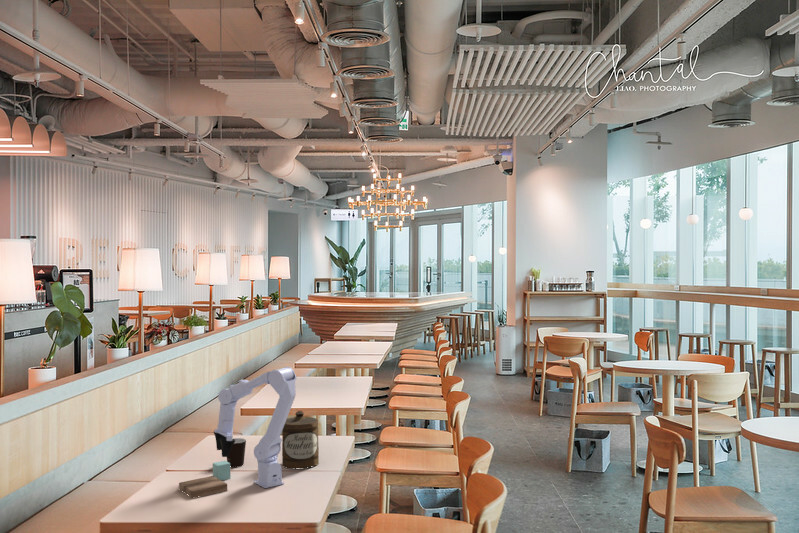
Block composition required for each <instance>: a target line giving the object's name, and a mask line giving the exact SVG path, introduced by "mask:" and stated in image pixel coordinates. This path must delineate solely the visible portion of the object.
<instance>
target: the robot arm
mask: <svg viewBox="0 0 799 533" xmlns="http://www.w3.org/2000/svg"><path fill="white" fill-rule="evenodd" d="M297 377H298V376H297V375H296V373H295V370H294V369H293V368H292V367H290V366H284V367H283V368H279V369H278V368H277V369H273V370H270V371H266V372H264V373H262V374H260V375H258V376H257V377H255V378H252V379H251V380H248V379H240V380H238V382H237V383H235V384H231V385H229V387H228V388H222V389H221V390H220V391H219V393H218V396H217V399H218V401H219V402H220V405H219V412H218V413H219V414H218V422H217V423H218V424H217V427H216V429H214V430H213V435H214V438H215V444H216V446H215V447H216V451H221V457H222V458H227V457H228V455H229V452H230V449H231V447H232V445H233V444H234V443H235V439H234V438H233V437H234V436H233V433H234V430H233V429H234V422H235V414H236V412H235V411H236V406H237V402H239V400H240V399H242V398H245V397H247V396H248V395H251V394H252V393H253V390H254V389H255V388H258V387H260V386H262V385H264V384H265V385H266V384H267V385H270V386H271V387H272V388H273V389H274V391H275V392H276V394H277V395H278V396H279V398H278V401H277V402H276V405H275V409H274V411H273V413H272V416H271V418H270V421H269V423H268V426H267V429H266V432H265V434H264V435H263V436H262V438H260V439H259V442H258V443H257V445H255V447H254V449H253V456H254V457H255V459H256V462H257V480H253V483H254V484H257V485H258V486H259V487H262V488H264V489H269V488H272V487H277V486H281V485H284V484H285V482H283V480H282V478H283V477H282V475H283V473H282V466H281V464H280V463H279V461H278V458H279V454H280V452H281V451H282V445H281V444H282V438H281V436H282V430H283V427H284V425H285V422H286V419H288V416H289V413H290V412H291V408H292V406H293V404H294V401H295V398H296V396H297V395H296V380H297Z"/></svg>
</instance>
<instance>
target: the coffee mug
mask: <svg viewBox="0 0 799 533" xmlns="http://www.w3.org/2000/svg"><path fill="white" fill-rule="evenodd" d="M233 439H235V443H234V444H233V445H232V447H231V449H230V452H229V455H228V457H226V461H227V462H229V463H230V466H231V467H230V468H238V467H237V466H240V467H243V466H244V465H243V464H244V463H245V456H246V454H245V453H246V445H247V444H246V443H247V439H246V438H241V437H240V438H239V437H238V438H237V437H235V438H233ZM242 465H243V466H242Z"/></svg>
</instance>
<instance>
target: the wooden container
mask: <svg viewBox="0 0 799 533" xmlns="http://www.w3.org/2000/svg"><path fill="white" fill-rule="evenodd" d="M294 415H295V417H289V418H288V417H287V419H286V422H285V425H284V427H283V430H282V432H281V436H282V438H281V439H282V441H281V444H282V445H281V455H282V457H281V458H282V459H281V463H282V467H283V466H284V467H283V468H285V467H287V468H286V469H288V468H295V469H294V470H297V469H296V468H307V467H311V466H314V465H316V466H318V465H319V461H320V460H319V457H320V456H319V430H318V423H319V422H318V421H319V420H318V418H315V417H313V416H312V417H311V416H304V415H305V413H304V411H302V410H297V411H296V412H295V414H294ZM317 464H318V465H317ZM314 467H315V466H314ZM307 469H308V468H307Z"/></svg>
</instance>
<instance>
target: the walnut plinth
mask: <svg viewBox="0 0 799 533" xmlns="http://www.w3.org/2000/svg"><path fill="white" fill-rule="evenodd" d="M179 489H180V490H179ZM178 490H179V491H181V492H182V491H183V492H185V493H186V494H188V495H189V496H191V497H192V498H193V497H197V498H199V497H198V496H202V497H205V496H204V495H206V496H209V494H211V495H214V494H213V493H215V494H219V493H218V492H220V493H223V491H224V492H228V483H227V482H225V481H224V480H223V481H221V480H220V479H218V478H216V477H214V476H213V475H211V476H206V477H201V478H196V479H192V480H187V481H181V482H178ZM185 493H184V494H185ZM186 494H185V495H186ZM188 495H187V496H188ZM189 496H188V497H189ZM191 497H190V498H191ZM192 498H191V499H192ZM193 499H194V498H193Z"/></svg>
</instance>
